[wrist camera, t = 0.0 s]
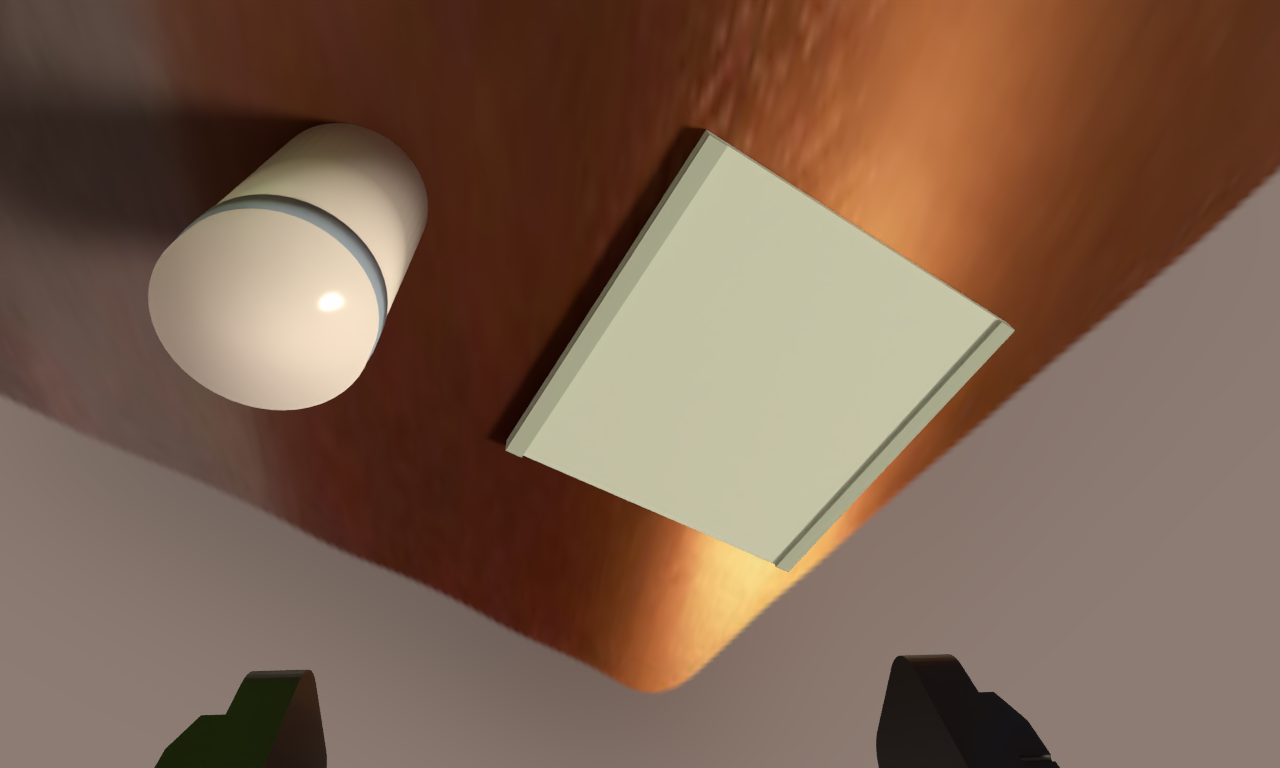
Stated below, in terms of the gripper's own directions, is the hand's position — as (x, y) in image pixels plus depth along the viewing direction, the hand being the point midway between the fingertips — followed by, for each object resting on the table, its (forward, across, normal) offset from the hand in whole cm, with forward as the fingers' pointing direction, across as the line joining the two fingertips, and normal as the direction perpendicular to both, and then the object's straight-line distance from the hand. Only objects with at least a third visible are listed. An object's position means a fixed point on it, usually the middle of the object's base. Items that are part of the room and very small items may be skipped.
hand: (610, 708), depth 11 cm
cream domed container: (+22, +9, -3) cm, 24 cm away
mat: (+23, -8, +5) cm, 25 cm away
